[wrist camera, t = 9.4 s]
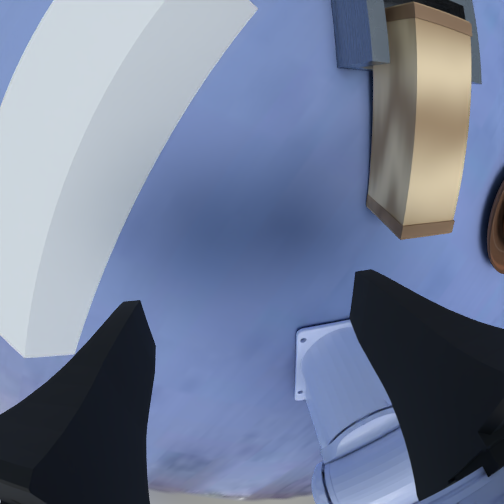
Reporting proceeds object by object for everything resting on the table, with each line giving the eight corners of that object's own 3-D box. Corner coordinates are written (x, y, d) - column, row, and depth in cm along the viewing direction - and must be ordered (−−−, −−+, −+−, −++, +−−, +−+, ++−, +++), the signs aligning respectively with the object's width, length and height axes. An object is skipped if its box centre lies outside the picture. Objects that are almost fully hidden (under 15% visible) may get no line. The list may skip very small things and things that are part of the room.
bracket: (438, 81, 16) (510, 87, 10) (337, 67, 15) (400, 56, 9) (428, -7, 13) (493, -24, 7) (326, -32, 12) (376, -76, 6)
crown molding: (97, -52, 10) (79, -74, 7) (258, 10, 14) (269, -9, 11) (-28, 289, 19) (-47, 311, 16) (79, 350, 23) (68, 380, 20)
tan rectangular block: (413, 202, 20) (451, 233, 16) (365, 206, 20) (400, 240, 16) (423, 24, 13) (471, 22, 9) (369, 11, 13) (413, 0, 9)
